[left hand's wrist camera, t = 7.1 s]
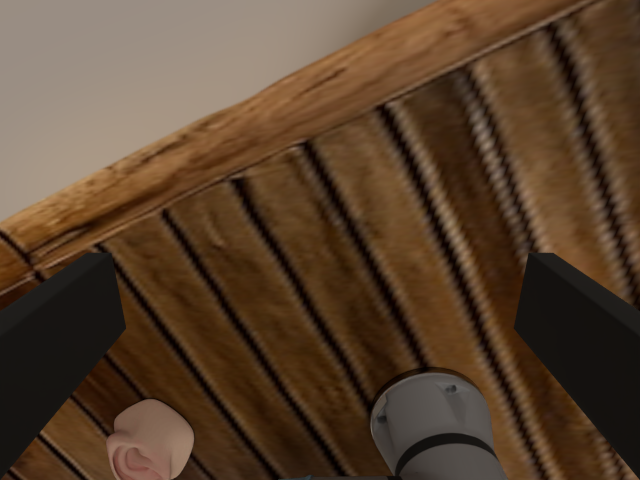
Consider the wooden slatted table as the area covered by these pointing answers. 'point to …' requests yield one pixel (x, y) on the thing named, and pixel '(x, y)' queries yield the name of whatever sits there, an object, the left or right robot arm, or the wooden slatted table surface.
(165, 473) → the anatomical model
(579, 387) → the left robot arm
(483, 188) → the wooden slatted table surface
